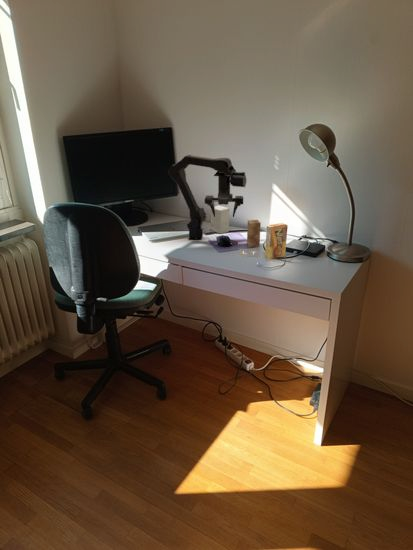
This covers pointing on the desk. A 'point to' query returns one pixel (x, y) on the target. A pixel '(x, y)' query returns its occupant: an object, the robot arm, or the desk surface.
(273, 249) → the candy box
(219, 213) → the small box
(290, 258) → the desk surface
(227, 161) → the robot arm
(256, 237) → the walnut block
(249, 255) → the grey flat square plate
